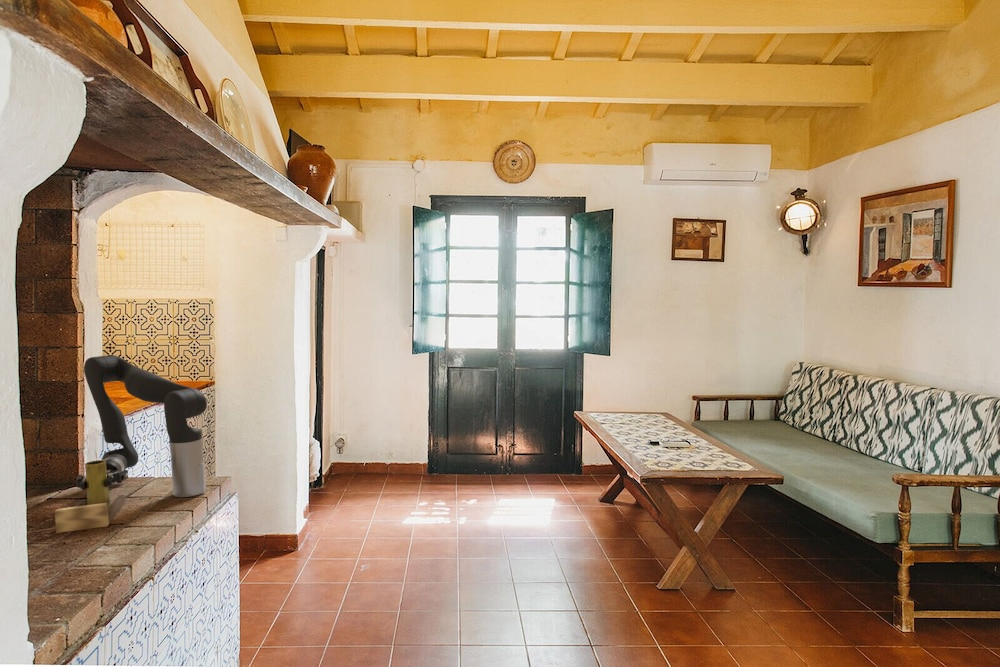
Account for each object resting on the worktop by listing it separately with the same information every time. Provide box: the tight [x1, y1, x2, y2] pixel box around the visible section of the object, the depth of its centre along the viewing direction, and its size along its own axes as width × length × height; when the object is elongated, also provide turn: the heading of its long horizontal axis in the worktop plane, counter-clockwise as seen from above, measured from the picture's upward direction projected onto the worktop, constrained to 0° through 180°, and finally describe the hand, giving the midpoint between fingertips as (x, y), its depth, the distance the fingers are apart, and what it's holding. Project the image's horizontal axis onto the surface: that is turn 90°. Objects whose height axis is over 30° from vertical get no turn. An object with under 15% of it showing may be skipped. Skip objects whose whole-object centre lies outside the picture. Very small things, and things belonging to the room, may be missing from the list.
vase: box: [84, 459, 112, 508], centre depth 193 cm, size 6×6×14 cm
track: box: [54, 494, 126, 534], centre depth 186 cm, size 12×22×6 cm, turn 19°
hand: (94, 485), depth 190 cm, fingers closed on vase, 5 cm apart
